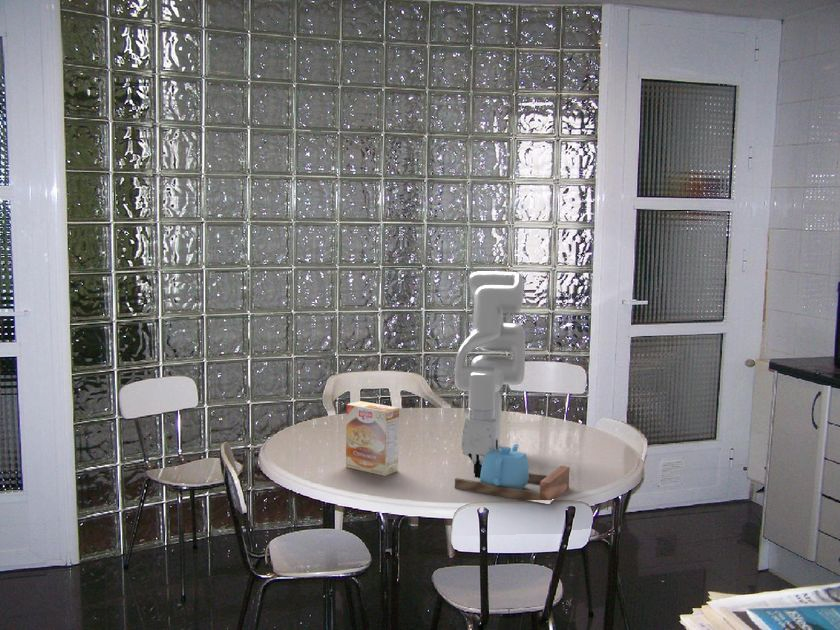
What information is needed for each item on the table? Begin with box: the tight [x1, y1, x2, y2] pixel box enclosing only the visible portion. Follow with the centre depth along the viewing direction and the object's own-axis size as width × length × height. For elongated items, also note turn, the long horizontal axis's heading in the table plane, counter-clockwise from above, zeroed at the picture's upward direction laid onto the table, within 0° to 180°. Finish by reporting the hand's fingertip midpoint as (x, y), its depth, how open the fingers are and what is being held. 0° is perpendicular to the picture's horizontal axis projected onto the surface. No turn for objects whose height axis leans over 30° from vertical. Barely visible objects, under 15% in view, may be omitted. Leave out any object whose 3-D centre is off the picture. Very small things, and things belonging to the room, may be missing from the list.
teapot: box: [479, 443, 530, 490], centre depth 223 cm, size 12×18×12 cm
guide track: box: [454, 465, 570, 501], centre depth 223 cm, size 28×17×6 cm, turn 62°
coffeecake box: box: [345, 400, 400, 477], centre depth 237 cm, size 15×7×20 cm, turn 56°
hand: (479, 476), depth 228 cm, fingers closed
